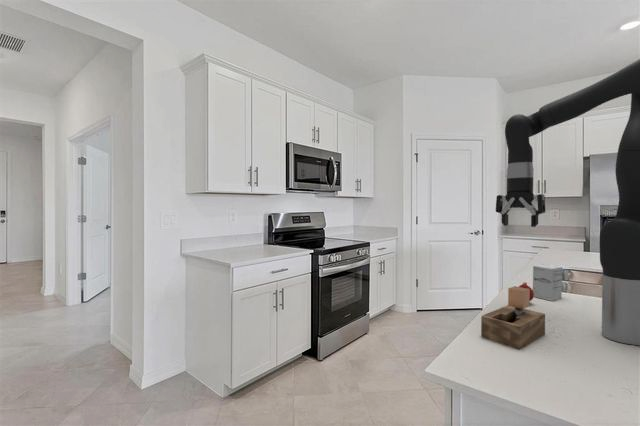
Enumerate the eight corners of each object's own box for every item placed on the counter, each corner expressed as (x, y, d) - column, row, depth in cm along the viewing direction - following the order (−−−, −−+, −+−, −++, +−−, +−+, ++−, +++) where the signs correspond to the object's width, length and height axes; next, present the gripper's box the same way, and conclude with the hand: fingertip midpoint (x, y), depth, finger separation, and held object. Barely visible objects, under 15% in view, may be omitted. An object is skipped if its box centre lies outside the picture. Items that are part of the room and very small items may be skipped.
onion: (532, 307, 118) (533, 285, 118) (514, 304, 121) (514, 282, 121) (534, 303, 122) (534, 281, 122) (516, 300, 126) (516, 279, 126)
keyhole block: (544, 334, 94) (545, 313, 93) (519, 349, 84) (519, 326, 84) (508, 324, 102) (508, 305, 102) (481, 336, 92) (481, 315, 92)
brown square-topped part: (529, 333, 94) (529, 289, 94) (522, 337, 92) (523, 291, 92) (514, 329, 98) (514, 286, 97) (508, 332, 95) (508, 288, 95)
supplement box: (531, 296, 130) (532, 265, 130) (542, 294, 134) (542, 263, 134) (552, 301, 124) (552, 268, 124) (562, 298, 127) (563, 266, 127)
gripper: (549, 176, 105) (548, 226, 105) (502, 178, 116) (502, 224, 117) (539, 175, 100) (538, 228, 101) (492, 178, 112) (491, 225, 112)
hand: (519, 226), depth 109 cm, fingers open, 8 cm apart
